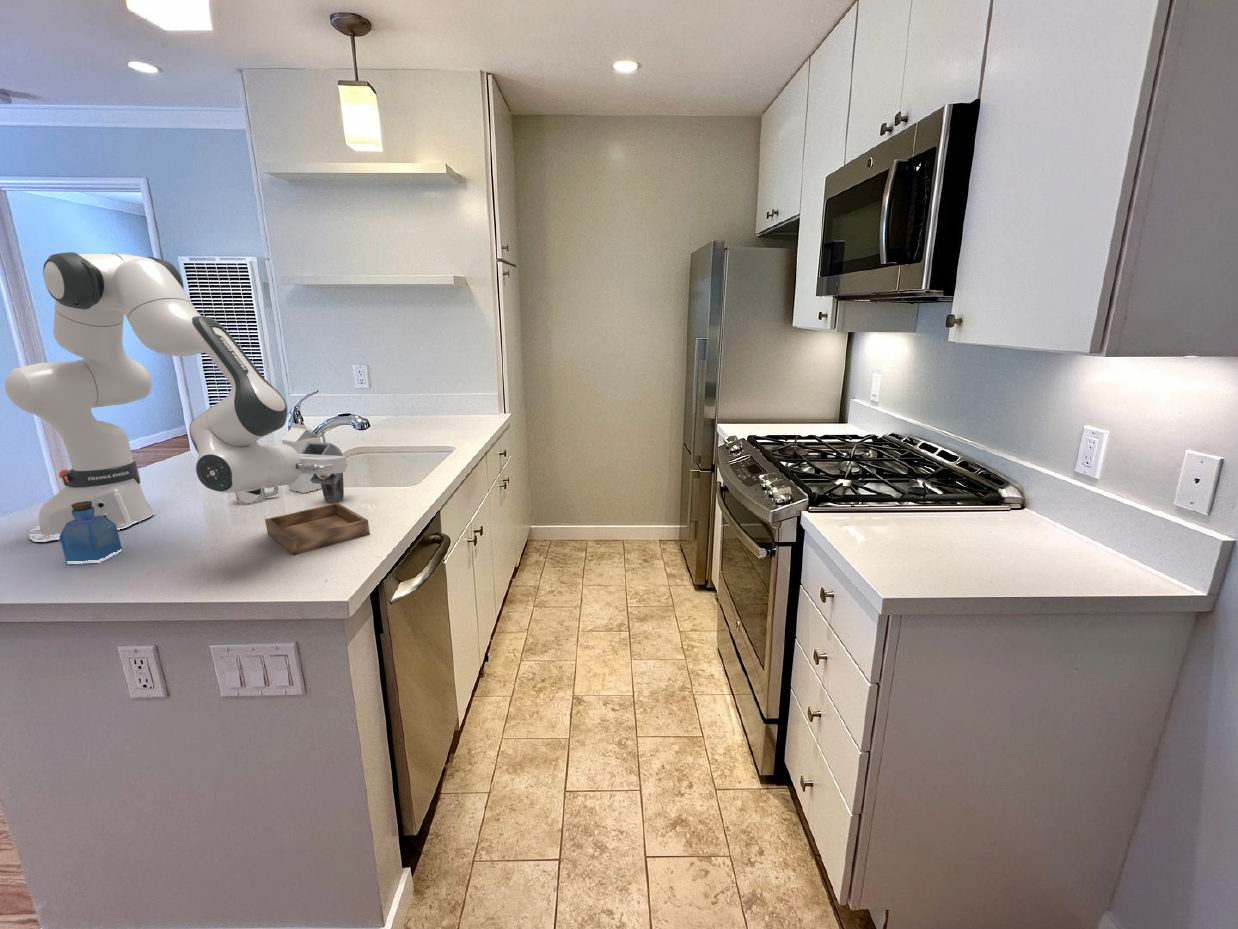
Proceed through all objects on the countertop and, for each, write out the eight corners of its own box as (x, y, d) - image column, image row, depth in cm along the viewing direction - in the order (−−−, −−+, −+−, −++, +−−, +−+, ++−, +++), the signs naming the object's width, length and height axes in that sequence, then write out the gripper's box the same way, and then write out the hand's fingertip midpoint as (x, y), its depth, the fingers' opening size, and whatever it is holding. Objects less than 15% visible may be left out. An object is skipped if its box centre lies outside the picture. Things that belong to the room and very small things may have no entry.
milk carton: (303, 494, 161) (293, 427, 157) (289, 490, 165) (279, 425, 160) (327, 487, 167) (318, 423, 162) (313, 484, 171) (304, 421, 166)
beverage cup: (354, 496, 158) (345, 425, 153) (339, 505, 151) (329, 430, 146) (329, 496, 159) (319, 425, 154) (313, 504, 152) (302, 430, 147)
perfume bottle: (91, 553, 122) (77, 499, 119) (122, 551, 123) (109, 498, 120) (67, 565, 116) (51, 509, 113) (99, 563, 117) (85, 508, 114)
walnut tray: (293, 555, 120) (290, 539, 119) (267, 533, 132) (264, 519, 131) (369, 534, 131) (367, 519, 130) (339, 516, 143) (337, 502, 142)
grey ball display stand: (335, 484, 135) (318, 462, 129) (312, 483, 136) (295, 461, 130) (347, 465, 139) (331, 443, 132) (324, 463, 140) (308, 441, 133)
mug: (235, 506, 152) (230, 482, 150) (239, 499, 157) (235, 476, 156) (278, 501, 155) (274, 477, 154) (281, 494, 161) (277, 471, 160)
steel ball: (327, 481, 136) (321, 483, 133) (316, 470, 136) (310, 472, 132) (338, 471, 136) (332, 473, 133) (327, 460, 136) (321, 462, 132)
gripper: (321, 452, 119) (362, 448, 132) (235, 448, 122) (284, 444, 136) (322, 483, 119) (362, 475, 133) (236, 477, 123) (284, 471, 136)
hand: (322, 460), depth 134 cm, fingers closed on grey ball display stand, 6 cm apart
